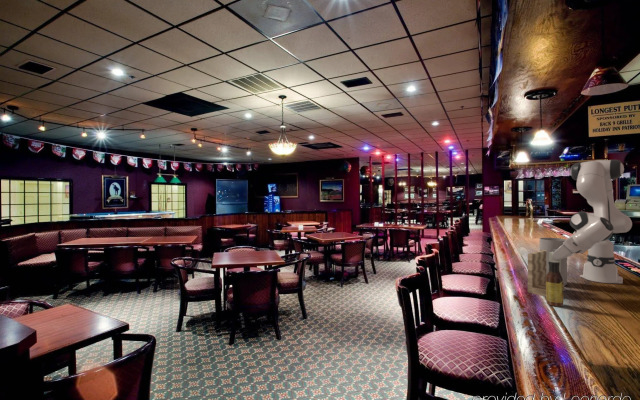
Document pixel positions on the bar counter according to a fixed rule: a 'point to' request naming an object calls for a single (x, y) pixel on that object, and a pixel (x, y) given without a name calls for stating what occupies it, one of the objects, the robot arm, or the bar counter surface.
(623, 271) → the bar counter surface
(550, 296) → the sauce bottle
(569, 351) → the bar counter surface
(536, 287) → the back board shelf
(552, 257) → the beige block
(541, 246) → the cylinder vase
